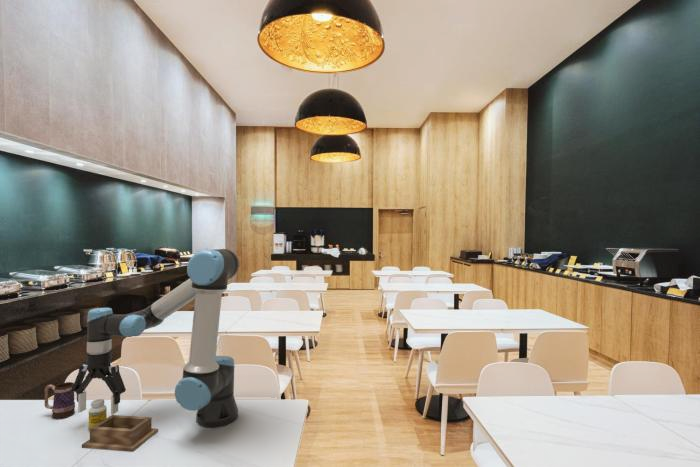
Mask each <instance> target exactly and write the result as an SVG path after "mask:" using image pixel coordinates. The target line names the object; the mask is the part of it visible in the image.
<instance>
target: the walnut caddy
mask: <svg viewBox="0 0 700 467" xmlns="http://www.w3.org/2000/svg"><path fill="white" fill-rule="evenodd" d="M152 418H153V417H152V416H151V417H150V416H135V415H134V416H133V415H121V414H119V415H118V414H113V415H111V414H110V416H109V417H106V419H105V420H103V421H101V422H100V423H98V424H97V425H95V426H93V427H92V428H90V430H89V439H88V440H87V441H85V442H84V443H82V444H81V448H83V449H96V450H107V451H108V450H109V451H119V452H122V451H123V452H134V451H136V450H137V449H138V448H139V447H141V446H142V445H143V444H145V442H147V441H148V440H149V439H151V438H152V437H153V436H154V435H155V434H157V433H158V432H159V428H153V426H152V420H153V419H152Z"/></svg>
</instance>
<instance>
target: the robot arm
mask: <svg viewBox="0 0 700 467" xmlns="http://www.w3.org/2000/svg"><path fill="white" fill-rule="evenodd" d="M239 269H240V259H239V257H238V255H237V254H236V253H235V252H234V251H232V250H230V249H227V248H219V249H218V248H216V249H213V248H210V249H208V248H206V249H204V250H200V251H197V252H195V254H193V255H192V256H191V257H190V259H189V261H188V263H187V266H186V273H187V276H188V277H189V278H188V279H186V280H185V281H184V282H182V283H181V284H180V285H178V286H177V287H175V288H173V289H172V290H171V291H169V292H168V293H166V294H165V295H163V296H162V297H160V298H159V299H157V300H156V301H154V302H152V304H151V305H149V306H147V307H146V308H144V309H141V310H138V311H133V312H130V313H127V314H116V313H114V312H113V309H112V308H111V307H98V308H96V307H95V308H92V309H90V310H89V311H88V313H87V319H86V320H87V321H86V324H87V325H86V326H87V327H86V328H87V329H86V330H87V332H86V334H87V336H86V353H87V354H86V363H84V364H81V365H79V366H78V373H77V376H76V378H75V381H74V382H73V383H74V385H73V387H72V389H71V391H72V392H74V393H75V394H76V402H77V413H78V414H79V413H82V412H84V411H86V410H87V391H86V388H87V387H88V386H89V385H90V383H91V382H92V380H94V379H98V380H99V379H101V380H102V381H103V382H105V384H106V386H107V387H108V388H109V390H110V392H111V393H112V395H111V396H110V416H111V415H116V413H118V412H119V404H120V402H121V394H123V393H125V392H126V391H127V390H126V386H125V384H124V381H123V378H122V375H121V373H120V366H119V364H117V365H111V362H112V356H113V355H112V351H111V350H112V349H113V348H112V346H113V345H112V343H113V342H112V341H113V340H112V338H113V337H125V338H131V337H139V336H141V335H142V333H143V332H144V331H145V330H148V329H151V328H155V327H157V326H159V325H161V324H162V323H163V322H164V320H165V319H167V318H168V317H169V316H171V315H173V314H174V313H176V312H177V311H179V310H180V309H182V308H183V307H185V306H186V305H187V304H189V303H190V302H192V301H193V300H194V299H195V300H194V308H193V309H194V310H193V318H192V328H191V337H190V346H189V356H188V359H189V360H188V362H187V363H185V364H184V365H183V370H182V378H181V379H180V380H179V381H178V382H177V384H176V386H175V388H174V397H175V400H176V402H177V403H178V404H179V405H180V407H182V408H184V410H188V411H192V412H193V411H194V412H195V411H197V412H196V414H195V415H196V416H195V419H196V420H195V422H196V424H197V425H199V426H200V427H205V428H217V427H222V426H226V425H228V424H231V423H233V422H235V421H236V420H237V419H238V418H239V407H238V405H237V401H236V399H235V398H236V397H235V396H234V395H235V393H234V392H235V391H234V390H235V366H236V365H235V359H234V358H233V357H231V356H228V355H217V345H218V336H219V329H220V328H219V326H220V315H221V308H222V307H221V306H222V297H223V295H222V294H223V293H224V292H226V290H227V289H228V282H229V280H230V279H232V278H234V277H235V276H236V275H237V273H238V271H239ZM87 372H88V373H87ZM86 374H87V375H86Z"/></svg>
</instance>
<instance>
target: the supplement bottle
mask: <svg viewBox="0 0 700 467" xmlns="http://www.w3.org/2000/svg"><path fill="white" fill-rule="evenodd" d="M107 412H108V411H107V405H106V404H105V399H104V398H98V399H94V400H92V401H91V403H90V407H89V409H88V431H90V428H92V427H93V426H95V425H97V424H98V423H100V422H101V421H103V420H105V419H106V418H107Z"/></svg>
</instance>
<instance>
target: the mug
mask: <svg viewBox="0 0 700 467" xmlns="http://www.w3.org/2000/svg"><path fill="white" fill-rule="evenodd" d="M73 385H74V382H72V381H67V382H62V383H61V382H60V383H58V384H56V385H54V384H48V385H45V388H44V390H43V391H44V392H43V393H44V408H46V409H49V410H51V412H52V413H51V414H52V415H51V418H52V419H54V420H63V419H67V418H69V417H71V416H73V415H74V414H75V409H76V408H75V407H76V402H75V392H72V391H71V389H72V387H73ZM50 388H51V389H52V390H53V400H52V401H53V402H52V403H53V404H52V405H49V389H50ZM52 390H51V391H52Z"/></svg>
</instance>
